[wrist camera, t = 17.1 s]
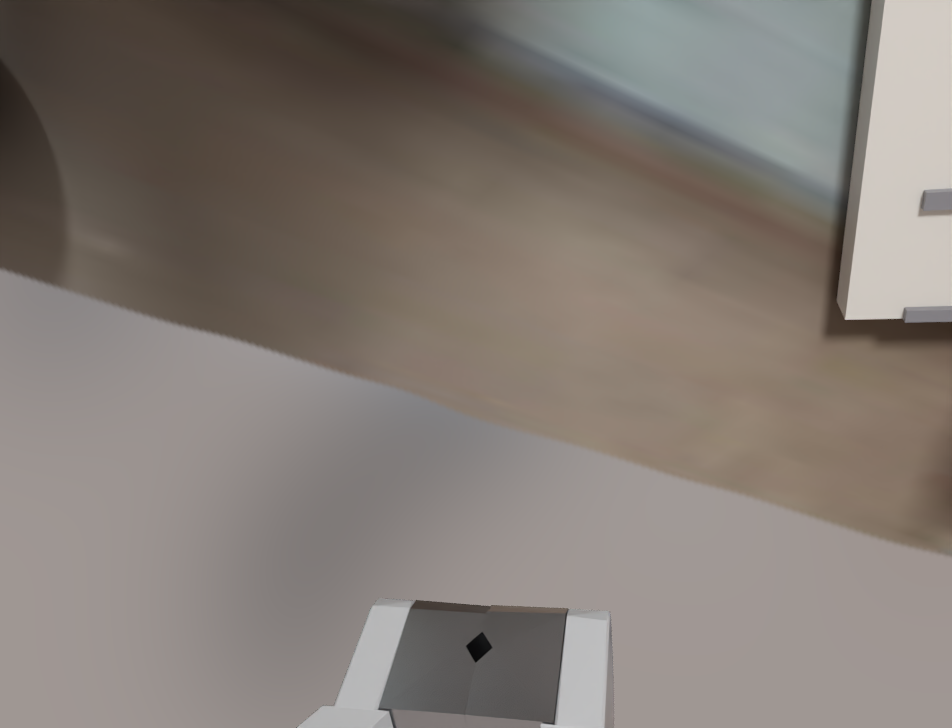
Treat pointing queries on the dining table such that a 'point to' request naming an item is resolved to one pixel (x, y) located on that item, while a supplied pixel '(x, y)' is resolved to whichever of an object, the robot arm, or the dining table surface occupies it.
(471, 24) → the dining table surface
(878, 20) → the white base plate
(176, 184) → the dining table surface
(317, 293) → the dining table surface
